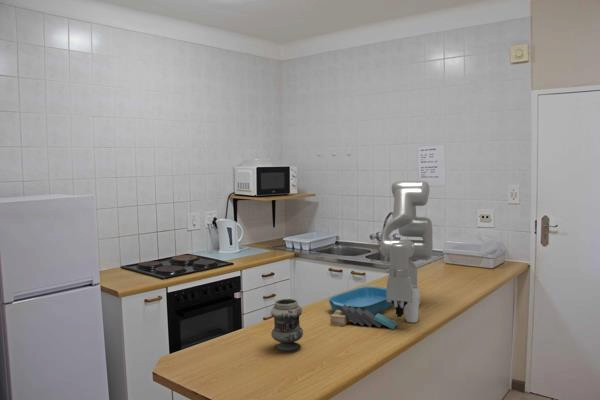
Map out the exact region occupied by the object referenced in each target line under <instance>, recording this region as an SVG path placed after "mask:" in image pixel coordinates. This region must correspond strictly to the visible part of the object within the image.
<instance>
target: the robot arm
mask: <svg viewBox="0 0 600 400" xmlns="http://www.w3.org/2000/svg"><path fill="white" fill-rule="evenodd" d="M391 192H392V193H391V194H392V196H393V212H392V218H391V219H390V220H389V221H388V222H387V223H386V224H385V226H384V227H383V229H382V232H381V236H380V237H381V239H380V254H381V255H382V256H383V257H386V258H389V268H388V269H386V273H388V274H389V275H388V276H387V279H386V288H387V290H386V297H387V300H386V301H387V302H390V303H392V304H393V305H392V306H394V307H395V315H396V318H402V317H403V316H404V314H405V305H406V304H411V303H412V302H413V300H412V285H414V286H418V267H417V265H416V264H415V263H414V260H415V261H416V260H417V261H418V260H419V261H428V260H431V259H432V257H433V249H434V248H433V247H434V246H433V224H432V221H431V219H430V218H429V217H425V216H417V207H423V206H426V205H427V203H428V201H429V195H430V185H429V183H428V182H427V181H425V180H403V181H402V180H401V181H395V182H394V183H392V184H391ZM396 230H398V233H399V235H400V236H402V237H405V238H421V239H391V238H390V239H389V236H390V234H392V233H393V231H396ZM421 305H422V302H421V300H419V307H420V306H421Z"/></svg>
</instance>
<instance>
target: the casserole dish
mask: <svg viewBox="0 0 600 400" xmlns="http://www.w3.org/2000/svg"><path fill="white" fill-rule="evenodd" d="M386 290H387V287H384V286H383V287H381V286H359V287H356V288H353V289H350V290H347V291H344V292H341V293H337V294H334V295H332V296H330V297H329V298H328V301H329V304H330V307H331V309H332V311H333V313H334V312H335V311H336V310H340V308H341V307H342V306H343V305H345V304H346V305H347V306H348V307H349V308H350V307H351V306H353V307H354V308H355V309H357V308H358V307H359V308H360V309H361V310H362V311H365V310H366V309H367V310H368V311H369V312H371V313H372V314H374V315H376V314H377V313H381V312H383V311H385V310H388V309H389V308H391V307H392V306H394V305H393V304H392V303H390V302H387V301H386V300H387V297H386Z"/></svg>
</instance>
